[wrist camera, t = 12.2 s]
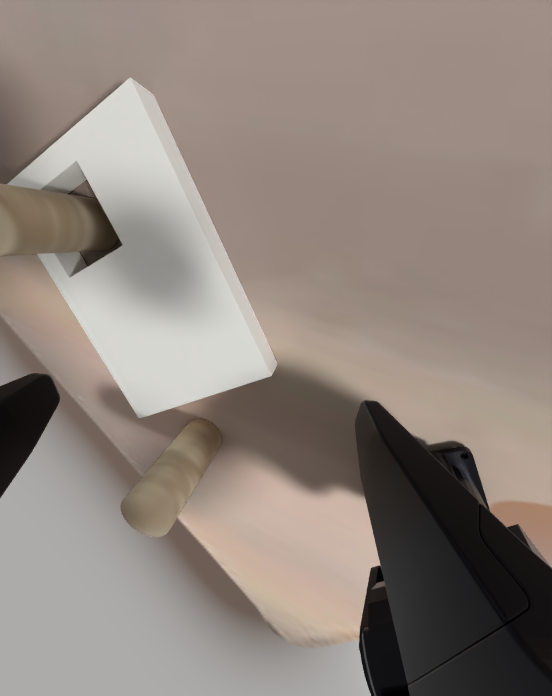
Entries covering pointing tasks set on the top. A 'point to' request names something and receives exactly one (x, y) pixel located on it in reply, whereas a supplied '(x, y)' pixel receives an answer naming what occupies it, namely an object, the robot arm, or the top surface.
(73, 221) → the long pin
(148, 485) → the short pin
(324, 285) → the top surface
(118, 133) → the hole plate
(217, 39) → the top surface
